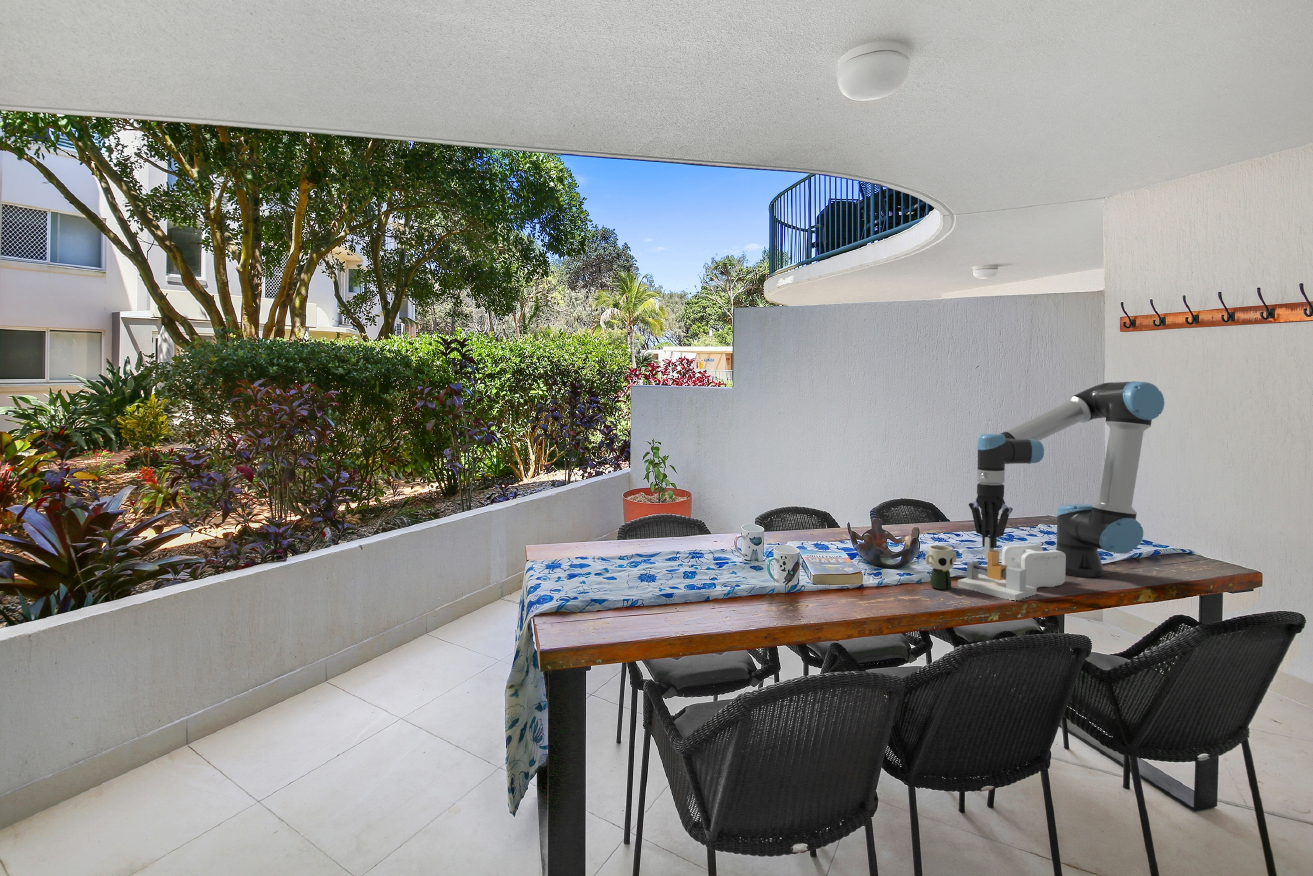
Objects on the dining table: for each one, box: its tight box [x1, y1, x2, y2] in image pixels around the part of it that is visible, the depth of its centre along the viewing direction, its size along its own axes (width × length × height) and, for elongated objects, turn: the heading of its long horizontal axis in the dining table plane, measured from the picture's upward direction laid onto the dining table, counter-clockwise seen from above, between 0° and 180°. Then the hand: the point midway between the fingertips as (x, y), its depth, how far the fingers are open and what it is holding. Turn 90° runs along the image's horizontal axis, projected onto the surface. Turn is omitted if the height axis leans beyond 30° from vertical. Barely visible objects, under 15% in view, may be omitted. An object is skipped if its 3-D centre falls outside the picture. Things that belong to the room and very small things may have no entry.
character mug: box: [925, 544, 957, 590], centre depth 197 cm, size 11×7×13 cm, turn 103°
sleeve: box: [986, 549, 1007, 580], centre depth 194 cm, size 4×4×8 cm
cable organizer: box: [1001, 543, 1066, 589], centre depth 200 cm, size 15×11×12 cm
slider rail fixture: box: [957, 560, 1037, 602], centre depth 194 cm, size 12×18×8 cm, turn 32°
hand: (989, 557), depth 196 cm, fingers closed
